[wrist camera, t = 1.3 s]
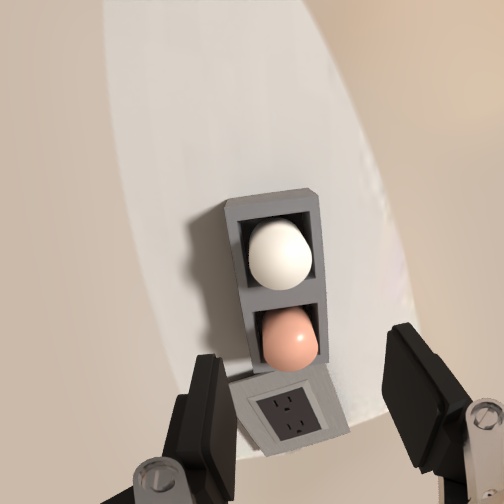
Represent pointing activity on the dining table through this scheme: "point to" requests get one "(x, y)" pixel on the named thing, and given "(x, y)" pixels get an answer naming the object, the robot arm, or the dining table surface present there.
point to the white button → (278, 254)
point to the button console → (266, 299)
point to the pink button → (288, 338)
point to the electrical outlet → (289, 408)
